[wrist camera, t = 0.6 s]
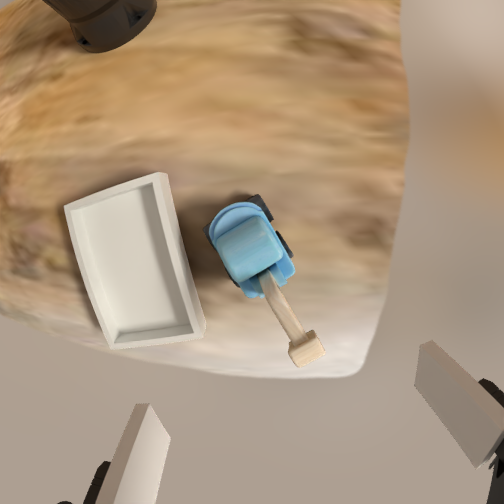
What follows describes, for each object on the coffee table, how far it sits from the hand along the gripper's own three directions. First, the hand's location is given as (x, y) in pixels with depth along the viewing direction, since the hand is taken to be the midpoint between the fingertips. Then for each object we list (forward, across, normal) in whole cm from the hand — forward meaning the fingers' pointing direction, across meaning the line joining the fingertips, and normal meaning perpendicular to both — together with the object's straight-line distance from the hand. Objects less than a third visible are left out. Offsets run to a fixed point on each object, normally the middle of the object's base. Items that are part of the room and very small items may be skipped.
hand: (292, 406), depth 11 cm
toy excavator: (+29, 0, 0) cm, 29 cm away
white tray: (+28, -17, +3) cm, 33 cm away
